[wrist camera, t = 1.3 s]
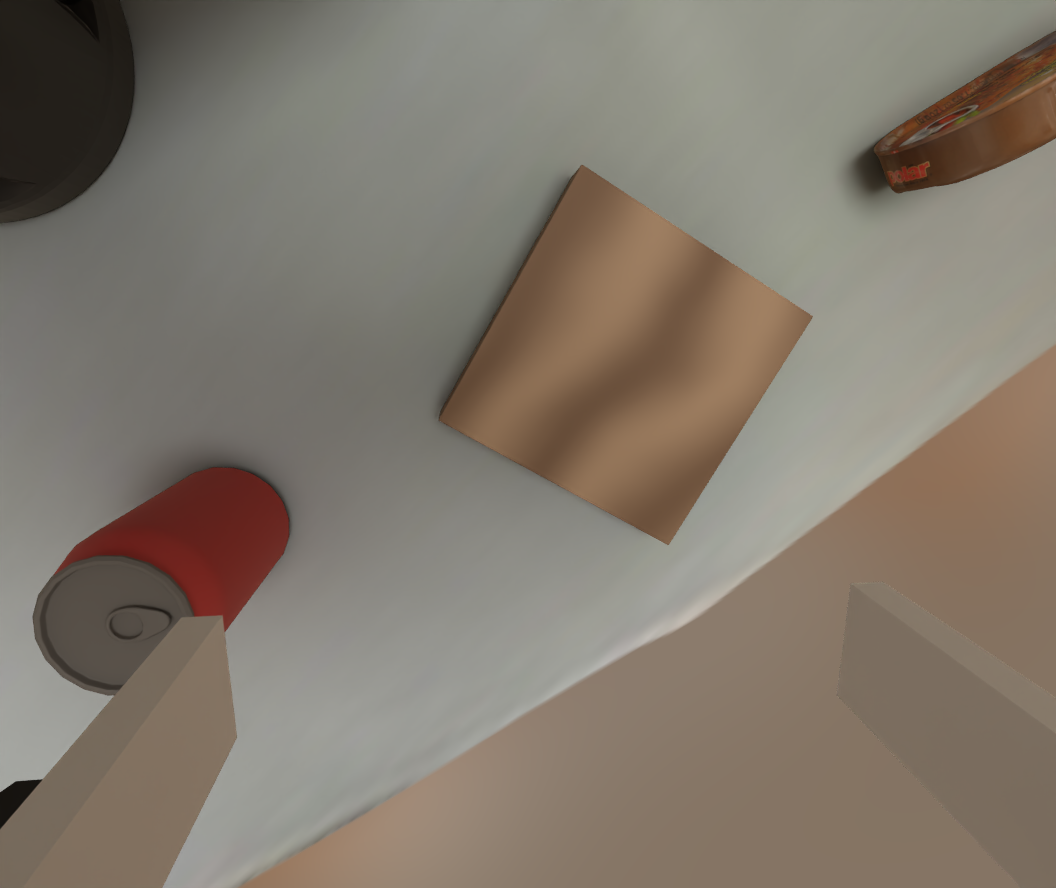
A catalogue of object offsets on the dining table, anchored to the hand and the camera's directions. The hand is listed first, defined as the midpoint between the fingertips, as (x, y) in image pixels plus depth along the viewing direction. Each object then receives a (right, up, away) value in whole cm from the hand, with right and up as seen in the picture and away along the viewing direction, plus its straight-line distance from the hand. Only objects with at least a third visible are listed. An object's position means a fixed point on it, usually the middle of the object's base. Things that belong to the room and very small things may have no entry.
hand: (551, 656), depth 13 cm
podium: (+4, +9, +22) cm, 24 cm away
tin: (+23, +22, +21) cm, 39 cm away
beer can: (-17, 0, +22) cm, 28 cm away
